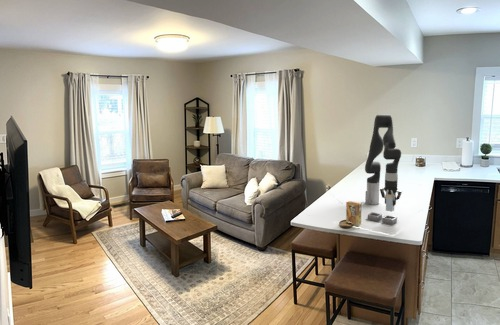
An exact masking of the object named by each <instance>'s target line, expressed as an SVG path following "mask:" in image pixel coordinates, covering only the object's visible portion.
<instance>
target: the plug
mask: <svg viewBox="0 0 500 325" xmlns="http://www.w3.org/2000/svg"><path fill="white" fill-rule="evenodd" d="M385 195H386V204H385V211H386V212H394V211H395V206H393V195H391V194H386V193H385Z"/></svg>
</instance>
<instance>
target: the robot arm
mask: <svg viewBox="0 0 500 325" xmlns="http://www.w3.org/2000/svg"><path fill="white" fill-rule="evenodd" d="M380 128H381V129H386V128H387V130H386V132H385V133H384V135H383V137H382V135H381V133H380ZM396 144H397V143H396V140H395V136H394V122H393V116H392V115H391V114H385V113H384V114H381V113H379V114H376V116H375V117H374V124H373V132H372V136H371V140H370V145H369V150H368V155H367V159H366V161H365V167H364V171H365V173H366V174H368V175H369V174H372V176H370V177H369V176H368V177H367V179H366V191H365V201H364V202H365V204H367V205H372V206H373V205H374V206H375V205H379V203H380V202H379V200H380V195H381V198H383V199H384V204H385V205H386V194H391V195H393V206H394V207H395V206H396V204H397V201H398V200H400V199H401V195H402V194H403V191H401V190H399V189H398V181H399V180H398V179H399V178H398V177H399V176H398V171H399V170H398V167H399V163H400V159H401V157H402V152H401V150H400V148H396ZM382 152H383V154H382ZM380 154H382V156H383V158H384V159H385V160H386V161H389V160H391V161H392V160H393V161H392V162H388V163H386V164H385V175H384V187H382V188H380V180H381V171H382V170H381V169H382V168H381V162H380V161H374V160H376V158H377V157H378V156H380ZM396 193H397V194H396Z"/></svg>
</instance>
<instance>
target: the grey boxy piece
mask: <svg viewBox="0 0 500 325" xmlns="http://www.w3.org/2000/svg"><path fill="white" fill-rule="evenodd" d="M365 221H369V222H373V223H378V224H382V225H388V226H394V225H395V224H396V223H399V220H398V217H397V216H393V215H388V214H386V215H384V216H383V214H382V213H377V212H373V211H372V212H370V213H368V214H367V218H366V219H365Z"/></svg>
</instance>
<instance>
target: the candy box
mask: <svg viewBox="0 0 500 325" xmlns="http://www.w3.org/2000/svg"><path fill="white" fill-rule="evenodd" d="M345 203H346V204H345V206H346V209H345V211H346V212H345V213H346V218H345V222H346V221H350V222H352V223H353V224H352V225H354V226H355V227H358V228H359V226H361V225H362V203H361V202H357V201H352V200H348V201H346V202H345Z"/></svg>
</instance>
